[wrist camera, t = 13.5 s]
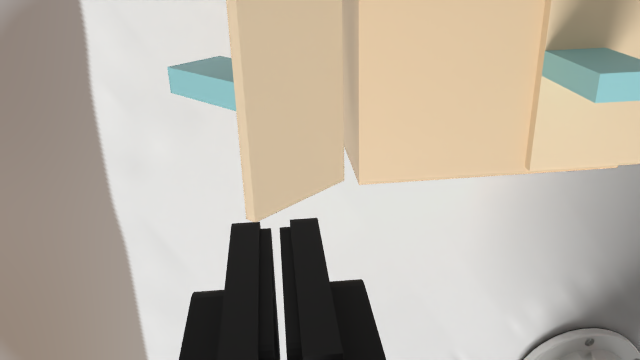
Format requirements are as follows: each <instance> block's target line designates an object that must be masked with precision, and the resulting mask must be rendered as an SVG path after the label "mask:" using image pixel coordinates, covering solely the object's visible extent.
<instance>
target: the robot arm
mask: <svg viewBox="0 0 640 360" xmlns="http://www.w3.org/2000/svg"><path fill="white" fill-rule="evenodd" d="M280 242H281V260H282V278H283V296H284V313H285V331H286V349H287V360H386V358H385V354H384V351H383V347H382V344H381V340H380V337H379V333H378V330H377V327H376V323H375V320H374V316H373V313H372V309H371V306H370V302H369V299H368V295H367V292H366V288H365V285H364V282H363V280H361V279H360V280H346V281H333V282H329V277H328V271H327V266H326V261H325V256H324V250H323V245H322V240H321V235H320V229H319V224H318V219H317V218H309V219H294V220H290V227H282V228H280ZM179 360H280V348H279V333H278V319H277V305H276V291H275V277H274V263H273V249H272V236H271V228H268V229H260V222H250V223H236V224H232V226H231V235H230V244H229V253H228V262H227V272H226V281H225V290H216V291H202V292H194V293H193V294H192V297H191V301H190V306H189V312H188V317H187V322H186V327H185V332H184V337H183V342H182V347H181V352H180V357H179ZM524 360H640V352H639V351H638V350H637V348H636V347H635V346H634V345H633V344H632V343H631V342H630V341H629V340H628V339H627V338H625V337H624V336H622V335H620V334H619V333H616V332H613V331H610V330H606V329H598V328H588V329H579V330H574V331H569V332H566V333H563V334H561V335H558V336H555V337H553V338H551V339H550V340H548V341H546V342H544V343H542V344H541V345H540V346H538V347H537V348H536V349H534V350H533V351H532V352H531V353H530V354H529V355H528V356H527V357H526V358H525V359H524Z"/></svg>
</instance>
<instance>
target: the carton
mask: <svg viewBox="0 0 640 360" xmlns="http://www.w3.org/2000/svg"><path fill="white" fill-rule="evenodd" d="M342 49H343V125H344V147H345V150H346V152H347V155H348V157H349V160H350V162H351V165H352V168H353V170H354V173H355V175H356V178H357V181H358V183H359V185H363V184H378V183H394V182H409V181H424V180H439V179H454V178H469V177H484V176H499V175H514V174H530V173H545V172H560V171H575V170H590V169H605V168H617V167H618V165H633V164H640V0H342Z"/></svg>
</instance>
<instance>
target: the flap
mask: <svg viewBox="0 0 640 360" xmlns="http://www.w3.org/2000/svg"><path fill="white" fill-rule="evenodd" d="M226 4H227V14H228V25H229V36H230V47H231V58H227V57H222V56H218V57H213V58H208V59H204V60H199V61H194V62H189V63H185V64H180V65H175V66H170V67H168V75H169V82H170V89H171V93H174V94H177V95H181V96H184V97H188V98H192V99H195V100H199V101H202V102H206V103H209V104H213V105H216V106H220V107H223V108H227V109H230V110H234V111H236V112H237V123H238V134H239V145H240V156H241V167H242V178H243V188H244V199H245V210H246V219H248V220H250V221H252V222H258V221H260V220H262V219H264V218H266V217H268V216H270V215H272V214H274V213H277V212H279V211H281V210H283V209H285V208H287V207H289V206H291V205H293V204H295V203H298V202H300V201H302V200H304V199H306V198H308V197H310V196H312V195H314V194H316V193H319V192H321V191H323V190H325V189H327V188H329V187H331V186H333V185H335V184H337V183H340V182H342V181H344V125H343V49H342V0H226Z"/></svg>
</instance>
